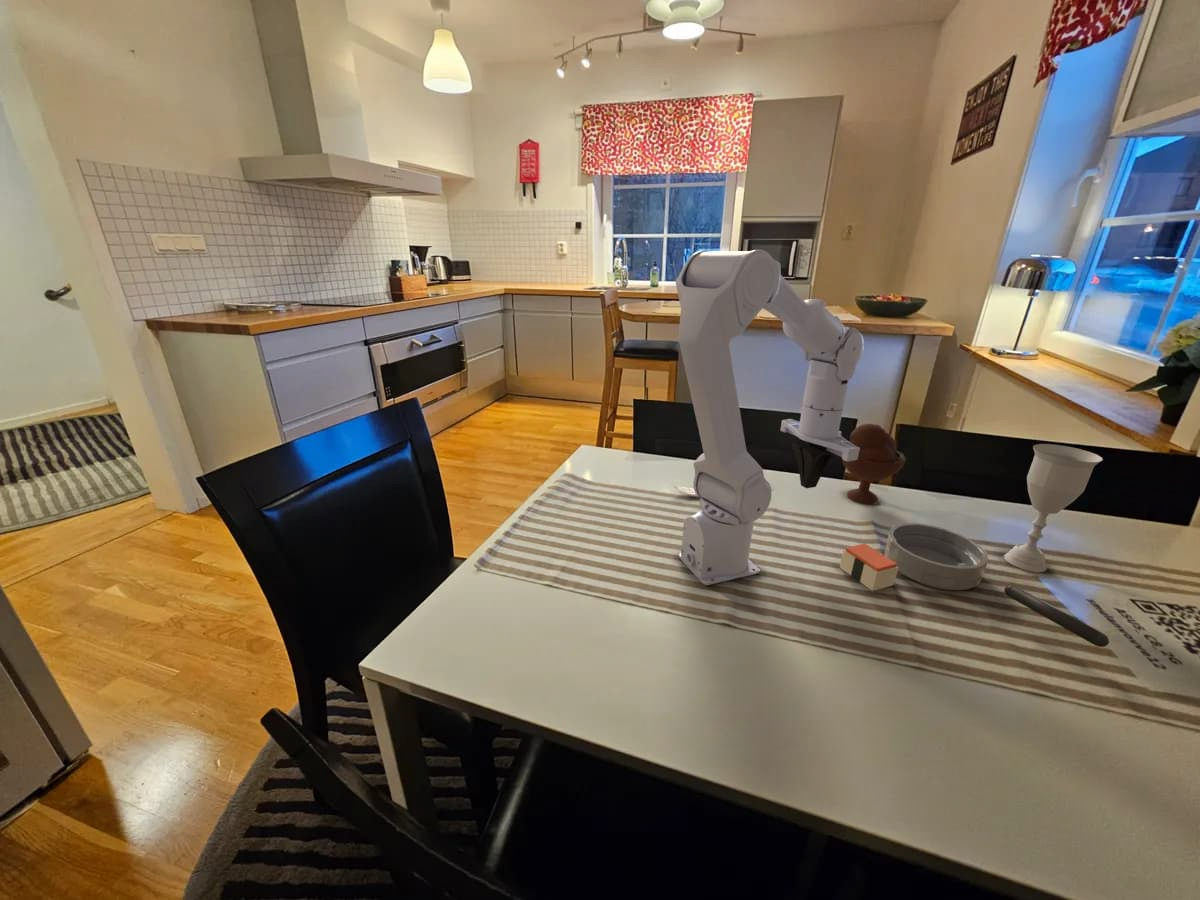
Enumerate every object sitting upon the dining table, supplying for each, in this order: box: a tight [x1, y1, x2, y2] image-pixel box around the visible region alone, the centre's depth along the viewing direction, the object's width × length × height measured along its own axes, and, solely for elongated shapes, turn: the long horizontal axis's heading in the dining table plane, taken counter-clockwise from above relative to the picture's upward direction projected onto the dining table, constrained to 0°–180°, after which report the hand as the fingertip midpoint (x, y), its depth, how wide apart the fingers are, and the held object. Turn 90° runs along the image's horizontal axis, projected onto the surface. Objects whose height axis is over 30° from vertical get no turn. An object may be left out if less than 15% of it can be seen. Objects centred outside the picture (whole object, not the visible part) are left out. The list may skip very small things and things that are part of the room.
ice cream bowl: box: [841, 423, 907, 505], centre depth 92 cm, size 11×11×15 cm
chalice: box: [1003, 443, 1103, 573], centre depth 71 cm, size 7×7×18 cm
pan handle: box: [1004, 584, 1110, 648], centre depth 59 cm, size 2×11×2 cm, turn 20°
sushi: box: [839, 543, 899, 592], centre depth 70 cm, size 4×6×4 cm
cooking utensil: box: [671, 483, 698, 497], centre depth 97 cm, size 3×20×2 cm, turn 103°
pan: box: [883, 522, 989, 591], centre depth 73 cm, size 12×12×4 cm
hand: (808, 485), depth 80 cm, fingers closed
